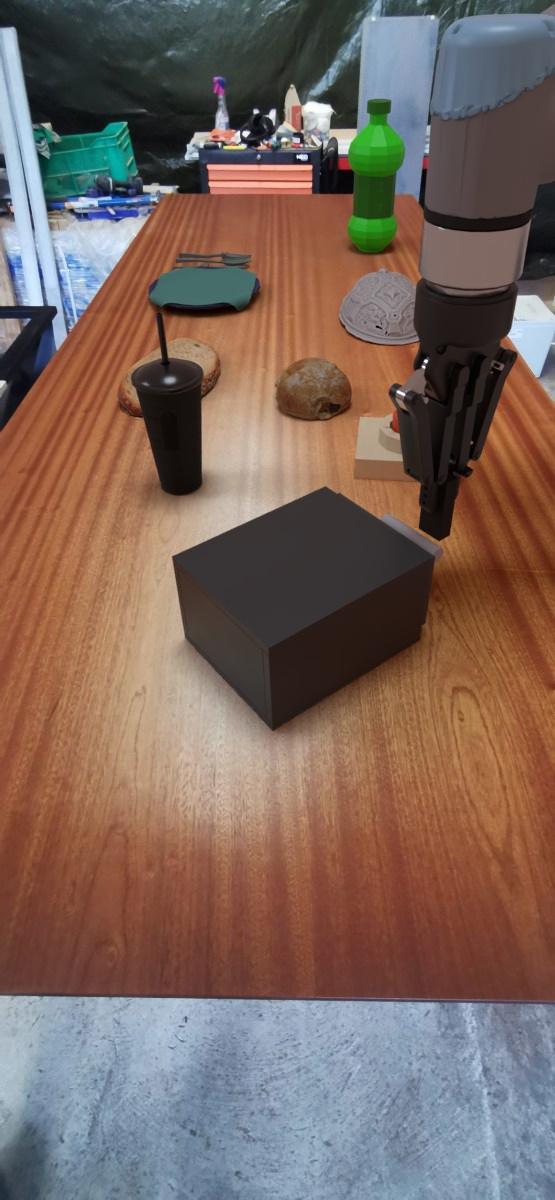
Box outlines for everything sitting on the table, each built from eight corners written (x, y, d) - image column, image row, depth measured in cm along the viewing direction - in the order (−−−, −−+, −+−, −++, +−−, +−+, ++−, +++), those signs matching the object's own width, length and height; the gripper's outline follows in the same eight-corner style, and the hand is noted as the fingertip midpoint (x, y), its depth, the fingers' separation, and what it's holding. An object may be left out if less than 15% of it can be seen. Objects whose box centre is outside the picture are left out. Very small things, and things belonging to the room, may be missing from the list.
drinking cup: (227, 482, 87) (213, 312, 73) (176, 510, 83) (151, 335, 69) (186, 459, 91) (165, 293, 77) (136, 484, 87) (105, 314, 73)
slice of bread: (202, 346, 116) (199, 322, 113) (253, 391, 104) (252, 365, 101) (91, 372, 110) (86, 348, 107) (133, 423, 98) (128, 397, 95)
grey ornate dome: (341, 341, 114) (347, 296, 109) (335, 292, 133) (340, 252, 129) (441, 350, 114) (450, 306, 110) (420, 299, 133) (428, 260, 129)
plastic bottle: (344, 241, 153) (349, 96, 136) (395, 240, 152) (406, 95, 136) (345, 257, 145) (350, 106, 129) (399, 256, 145) (411, 104, 128)
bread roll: (297, 448, 99) (313, 408, 92) (255, 393, 101) (268, 350, 95) (353, 425, 103) (372, 385, 96) (312, 372, 106) (328, 330, 99)
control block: (454, 440, 92) (459, 407, 89) (458, 484, 85) (463, 450, 82) (358, 435, 94) (360, 403, 91) (353, 478, 86) (355, 445, 83)
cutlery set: (138, 318, 125) (136, 304, 123) (170, 260, 147) (169, 247, 146) (255, 318, 123) (254, 304, 122) (269, 259, 146) (269, 246, 144)
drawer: (369, 540, 76) (374, 475, 71) (459, 603, 69) (471, 536, 63) (208, 623, 68) (199, 557, 62) (290, 705, 60) (289, 638, 55)
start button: (426, 420, 88) (427, 407, 87) (426, 437, 85) (428, 423, 84) (392, 419, 88) (393, 405, 87) (391, 435, 85) (392, 422, 84)
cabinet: (324, 565, 75) (325, 485, 68) (420, 640, 67) (432, 557, 60) (184, 637, 68) (171, 556, 61) (272, 731, 59) (268, 648, 53)
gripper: (487, 247, 60) (451, 490, 76) (369, 287, 55) (357, 540, 70) (564, 270, 56) (509, 523, 71) (443, 316, 50) (413, 579, 66)
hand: (434, 531), depth 71 cm, fingers closed
